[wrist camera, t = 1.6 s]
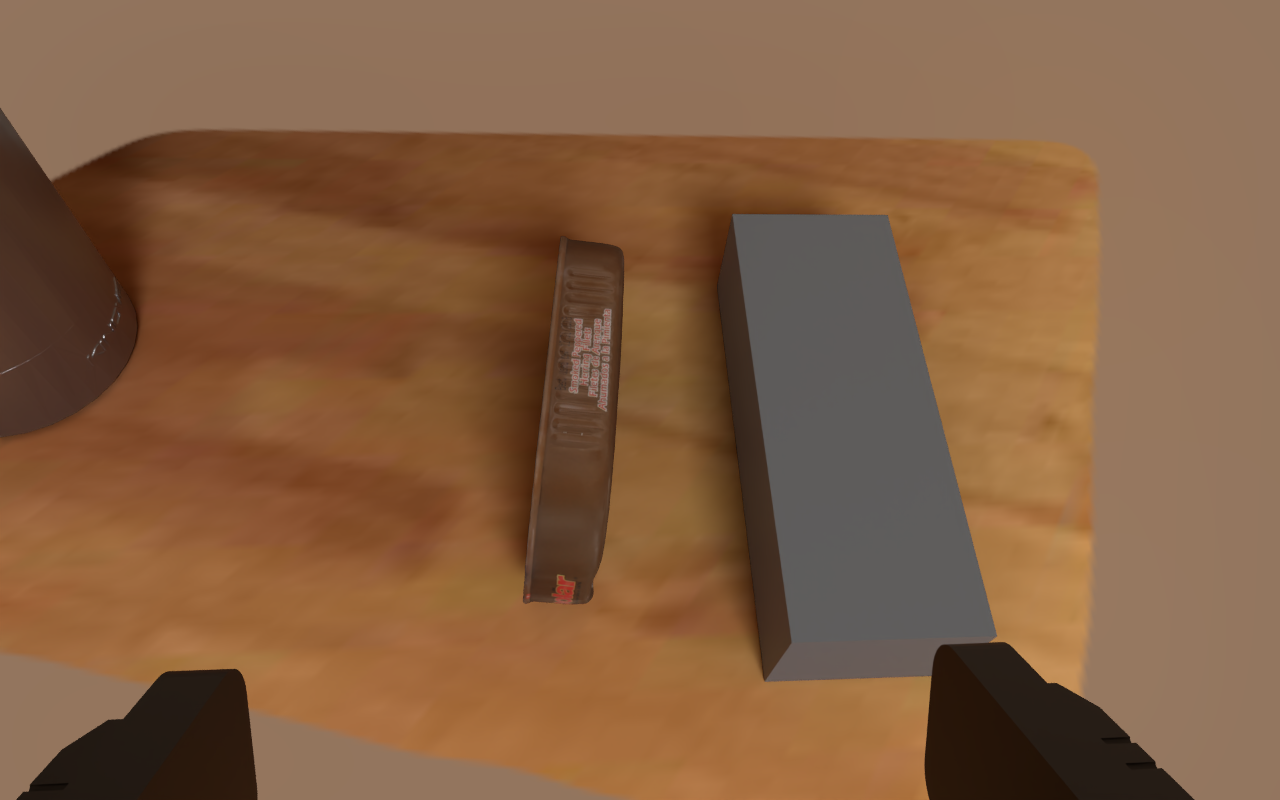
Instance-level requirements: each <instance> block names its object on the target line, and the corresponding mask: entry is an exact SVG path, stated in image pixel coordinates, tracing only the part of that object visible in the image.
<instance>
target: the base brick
mask: <svg viewBox="0 0 1280 800" xmlns="http://www.w3.org/2000/svg"><path fill="white" fill-rule="evenodd" d="M717 289H718V297H719V306H720V314H721V322H722V331H723V339H724V347H725V356H726V364H727V372H728V381H729V389H730V397H731V406H732V414H733V422H734V431H735V439H736V447H737V456H738V464H739V472H740V480H741V489H742V497H743V505H744V514H745V522H746V530H747V539H748V547H749V555H750V564H751V572H752V580H753V589H754V597H755V605H756V614H757V622H758V630H759V639H760V647H761V655H762V664H763V672H764V680H765V682H768V681H796V680H825V679H853V678H882V677H910V676H932V667H933V660H934V656H935V653H936V651H937V649H938V647H940V646H941V645H943V644H966V643H989V642H990V641H991V640H993V639H994V638H995V637H997V634H996V630H995V627H994V623H993V619H992V615H991V611H990V607H989V603H988V600H987V596H986V592H985V588H984V584H983V580H982V577H981V573H980V569H979V565H978V561H977V557H976V554H975V550H974V546H973V542H972V538H971V534H970V530H969V527H968V523H967V519H966V515H965V511H964V507H963V504H962V500H961V496H960V492H959V488H958V484H957V480H956V477H955V473H954V469H953V465H952V461H951V457H950V454H949V450H948V446H947V442H946V438H945V434H944V431H943V427H942V423H941V419H940V415H939V411H938V407H937V404H936V400H935V396H934V392H933V388H932V384H931V381H930V377H929V373H928V369H927V365H926V361H925V358H924V354H923V350H922V346H921V342H920V338H919V334H918V331H917V327H916V323H915V319H914V315H913V311H912V308H911V304H910V300H909V296H908V292H907V288H906V284H905V281H904V277H903V273H902V269H901V265H900V261H899V258H898V254H897V250H896V246H895V242H894V238H893V235H892V231H891V227H890V223H889V219H888V215H796V214H732V218H731V223H730V228H729V232H728V237H727V242H726V246H725V251H724V256H723V261H722V265H721V270H720V275H719V279H718V284H717Z"/></svg>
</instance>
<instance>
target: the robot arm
mask: <svg viewBox="0 0 1280 800" xmlns="http://www.w3.org/2000/svg"><path fill="white" fill-rule="evenodd" d="M136 333H137V320H136V312H135V309H134V307H133V305H132V303H131V300H130V298H129V296H128V295H127V293H126V292H125V290H124V289H123V287H122V286H121V284H120V283H119V282H118V280H117V279H116V277H115V276H114V274H113V273H112V271H111V270H110V268H109V267H108V265H107V264H106V263H105V261H104V260H103V258H102V257H101V255H100V254H99V252H98V251H97V249H96V248H95V246H94V245H93V243H92V242H91V240H90V238H89V237H88V236H87V234H86V233H85V231H84V230H83V228H82V227H81V225H80V224H79V222H78V221H77V219H76V218H75V217H74V215H73V214H72V212H71V211H70V209H69V208H68V206H67V205H66V203H65V202H64V200H63V199H62V198H61V196H60V195H59V193H58V192H57V190H56V189H55V187H54V186H53V184H52V183H51V182H50V180H49V179H48V177H47V176H46V174H45V173H44V171H43V170H42V168H41V167H40V165H39V164H38V163H37V161H36V160H35V158H34V157H33V155H32V154H31V152H30V151H29V149H28V148H27V146H26V145H25V144H24V142H23V141H22V139H21V138H20V137H19V135H18V133H17V132H16V130H15V129H14V127H13V126H12V125H11V123H10V122H9V120H8V119H7V117H6V116H5V114H4V113H3V111H2V110H1V108H0V437H4V436H10V435H16V434H22V433H28V432H31V431H34V430H37V429H40V428H43V427H46V426H49V425H52V424H54V423H56V422H58V421H60V420H62V419H64V418H66V417H68V416H70V415H72V414H74V413H76V412H78V411H79V410H80V409H82V408H83V407H85V406H86V405H88V404H89V403H90V402H92V401H93V400H95V399H96V398H97V397H98V396H99V395H100V394H101V393H102V392H103V391H104V390H105V389H107V388H108V387H109V386H110V385H111V384H112V383H113V382H114V380H115V379H116V378H117V376H118V375H119V373H120V372H121V371H122V369H123V368H124V366H125V365H126V364H127V361H128V359H129V357H130V354H131V352H132V350H133V348H134V345H135V339H136ZM925 779H926V786H927V791H928V796H929V800H1194V799H1193V798H1192V797H1191V796H1190V795H1189V794H1188V793H1187V792H1186V791H1185V790H1184V789H1183V788H1182V787H1181V786H1180V785H1179V784H1178V783H1177V782H1176V781H1175V780H1174V779H1173V778H1172V777H1171V776H1170V775H1168V774H1167V773H1166V772H1165V771H1164V770H1163V769H1162V768H1159V769H1157V767H1156V765H1155V761H1154V760H1153V759H1152V758H1151V757H1150V756H1149V755H1148V754H1147V753H1146V752H1145V751H1144V750H1143V749H1142V748H1141V747H1140V746H1139V745H1138V744H1137V743H1131V741H1130V737H1129V736H1128V735H1127V734H1126V733H1125V732H1124V731H1123V730H1122V729H1121V728H1120V727H1119V726H1118V725H1117V724H1116V723H1115V722H1114V721H1113V720H1112V719H1111V718H1110V717H1109V716H1108V715H1107V714H1106V713H1105V712H1104V711H1103V710H1102V709H1100V707H1098V706H1096V705H1094V704H1093V703H1091V702H1089V701H1088V700H1086V699H1084V698H1082V697H1080V696H1079V695H1077V694H1075V693H1073V692H1072V691H1070V690H1068V689H1066V688H1065V687H1063V686H1061V685H1059V684H1058V683H1047V682H1046V681H1045V680H1044V679H1043V678H1042V677H1041V676H1040V675H1039V674H1038V673H1037V672H1036V671H1035V670H1034V669H1033V668H1032V667H1031V666H1030V665H1029V664H1028V663H1027V662H1026V661H1025V660H1024V659H1023V658H1022V657H1021V656H1020V655H1019V654H1018V653H1017V652H1016V651H1015V649H1014V648H1013V647H1011V646H1010V645H1009V644H1007V643H1004V642H993V643H966V644H943V645H941V646H940V647H938V649H937V651H936V653H935V656H934V660H933V667H932V678H931V690H930V702H929V714H928V726H927V738H926V750H925ZM17 800H257V783H256V775H255V765H254V755H253V746H252V737H251V728H250V719H249V709H248V700H247V692H246V685H245V681H244V678H243V676H242V674H241V673H240V671H238V670H237V669H220V670H193V671H168V672H165V673H163V674H162V675H161V676H160V677H159V678H158V679H157V680H156V681H155V682H154V683H153V685H152V686H151V687H150V688H149V689H148V690H147V692H146V693H145V694H144V695H143V696H142V698H141V699H140V700H139V701H138V702H137V703H136V705H135V706H134V707H133V708H132V709H131V711H130V712H129V713H128V714H127V715H126V716H125V718H124V719H116V720H107V721H106V722H104V723H103V724H101V725H100V726H98V727H97V728H95V729H93V730H92V731H90V732H89V733H87V734H86V735H84V736H82V737H81V738H79V739H78V740H76V741H75V742H73V743H72V744H70V745H68V746H67V747H65V748H64V749H62V750H61V751H60V752H59V753H58V754H57V756H56V757H55V758H54V759H53V760H52V761H51V762H50V763H49V764H48V765H47V767H46V768H45V769H44V770H43V771H42V772H41V773H40V774H39V775H38V777H37V778H36V779H35V780H34V781H33V782H32V783H31V784H30V789H29V792H23V793H22V794H21V795H20V796H19V797H18V798H17Z"/></svg>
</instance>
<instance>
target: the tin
mask: <svg viewBox="0 0 1280 800" xmlns="http://www.w3.org/2000/svg"><path fill="white" fill-rule="evenodd" d="M557 263H558V265H557V272H556V281H555V290H554V299H553V308H552V316H551V327H550V335H549V346H548V353H547V363H546V373H545V382H544V390H543V400H542V409H541V417H540V425H539V434H538V443H537V452H536V462H535V473H534V483H533V492H532V503H531V512H530V523H529V532H528V542H527V556H526V565H525V581H524V590H523V591H524V592H523V593H524V595H523V602H524V603H525V604H527V603H530V602H533V601H535V602H549V603H560V604H585V603H587V602H589V601H590V600H591V599H592V597H593V592H594V591H593V579H594V577H595V575H596V573H597V571H598V568H599V565H600V563H601V560H602V555H603V549H604V544H605V537H606V530H607V522H608V514H609V505H610V494H611V484H612V472H613V460H614V449H615V434H616V420H617V403H618V389H619V375H620V359H621V339H622V317H623V291H624V256H623V252H622V250H621V249H620V248H619V247H617V246H613V245H609V244H603V243H595V242H586V241H577V240H570V239H568V238H566V237H565V236H561V238H560V246H559V255H558V261H557Z"/></svg>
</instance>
